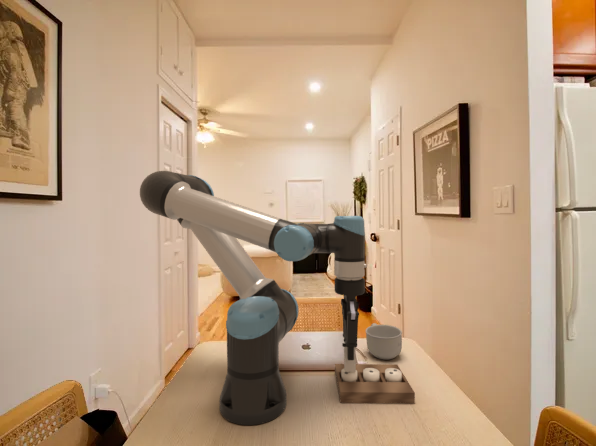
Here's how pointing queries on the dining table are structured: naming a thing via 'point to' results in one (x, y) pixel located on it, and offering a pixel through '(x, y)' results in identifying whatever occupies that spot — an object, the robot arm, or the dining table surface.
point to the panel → (374, 387)
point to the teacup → (384, 341)
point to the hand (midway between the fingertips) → (349, 370)
